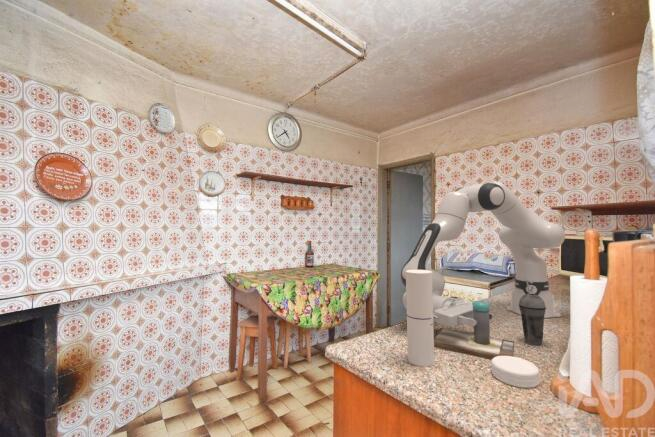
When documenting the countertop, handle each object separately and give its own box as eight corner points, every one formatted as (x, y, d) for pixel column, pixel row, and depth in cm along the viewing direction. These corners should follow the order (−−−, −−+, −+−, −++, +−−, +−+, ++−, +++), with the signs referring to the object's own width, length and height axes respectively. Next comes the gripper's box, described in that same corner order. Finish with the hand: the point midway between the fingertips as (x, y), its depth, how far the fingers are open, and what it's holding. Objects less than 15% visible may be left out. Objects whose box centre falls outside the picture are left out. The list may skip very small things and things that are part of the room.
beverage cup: (552, 348, 87) (550, 282, 88) (526, 346, 89) (523, 281, 89) (540, 338, 94) (537, 278, 95) (515, 337, 96) (513, 277, 96)
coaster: (524, 393, 64) (524, 377, 64) (483, 373, 73) (482, 360, 73) (548, 382, 69) (547, 367, 69) (506, 364, 77) (506, 351, 78)
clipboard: (441, 331, 102) (440, 325, 102) (514, 345, 90) (513, 338, 90) (429, 345, 90) (428, 338, 90) (511, 363, 77) (511, 355, 78)
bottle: (474, 338, 92) (473, 300, 92) (491, 341, 89) (489, 302, 89) (472, 342, 88) (471, 303, 88) (489, 346, 85) (488, 305, 86)
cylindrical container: (402, 357, 82) (400, 270, 83) (422, 353, 85) (419, 269, 86) (419, 368, 76) (417, 274, 76) (440, 363, 78) (437, 272, 79)
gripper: (424, 305, 93) (465, 315, 82) (459, 296, 105) (499, 304, 94) (425, 324, 93) (466, 337, 82) (460, 313, 105) (500, 323, 93)
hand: (484, 319), depth 88 cm, fingers open, 8 cm apart
